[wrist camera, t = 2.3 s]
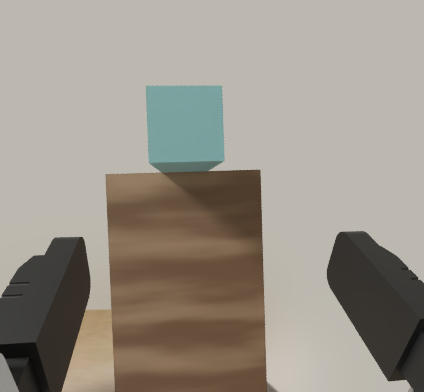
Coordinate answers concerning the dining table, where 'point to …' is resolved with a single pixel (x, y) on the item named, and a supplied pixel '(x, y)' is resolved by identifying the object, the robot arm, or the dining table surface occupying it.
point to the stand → (187, 281)
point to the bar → (185, 127)
